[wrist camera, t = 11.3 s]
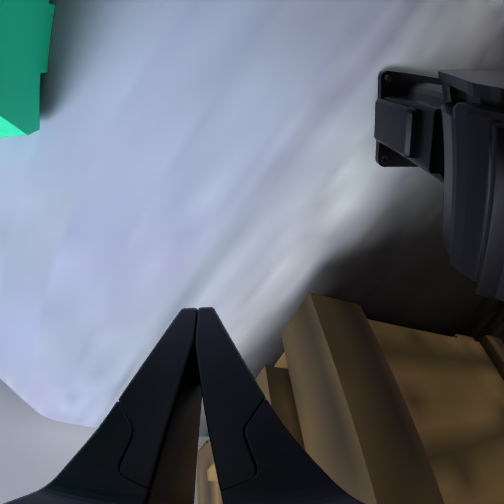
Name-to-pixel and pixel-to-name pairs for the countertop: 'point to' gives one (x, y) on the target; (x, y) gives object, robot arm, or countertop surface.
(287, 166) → the countertop surface
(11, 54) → the camera mount
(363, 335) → the crate
